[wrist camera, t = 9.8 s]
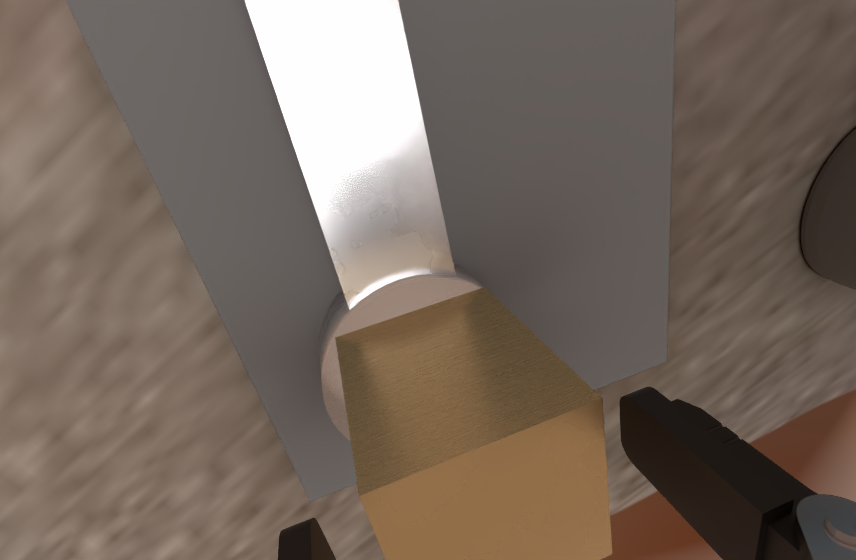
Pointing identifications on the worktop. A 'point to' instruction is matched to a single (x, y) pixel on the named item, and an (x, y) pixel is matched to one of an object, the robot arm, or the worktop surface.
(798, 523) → the robot arm
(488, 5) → the mat
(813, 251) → the mug
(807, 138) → the worktop surface
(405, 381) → the wooden toy cube
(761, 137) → the worktop surface
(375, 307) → the ratchet
